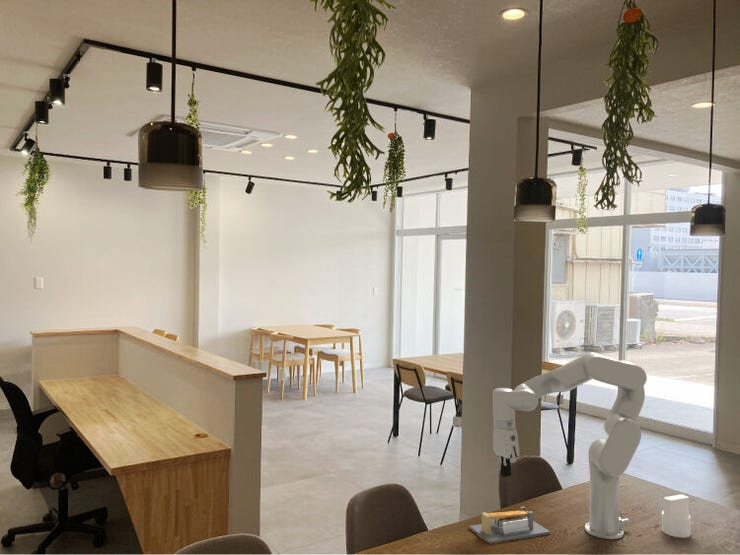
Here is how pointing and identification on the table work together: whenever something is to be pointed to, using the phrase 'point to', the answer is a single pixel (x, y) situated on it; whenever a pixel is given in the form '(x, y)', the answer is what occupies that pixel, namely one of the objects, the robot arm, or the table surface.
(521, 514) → the strap
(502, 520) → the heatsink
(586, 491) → the table surface
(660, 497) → the table surface
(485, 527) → the cpu board
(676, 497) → the white tapered canister
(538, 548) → the table surface
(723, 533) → the table surface
